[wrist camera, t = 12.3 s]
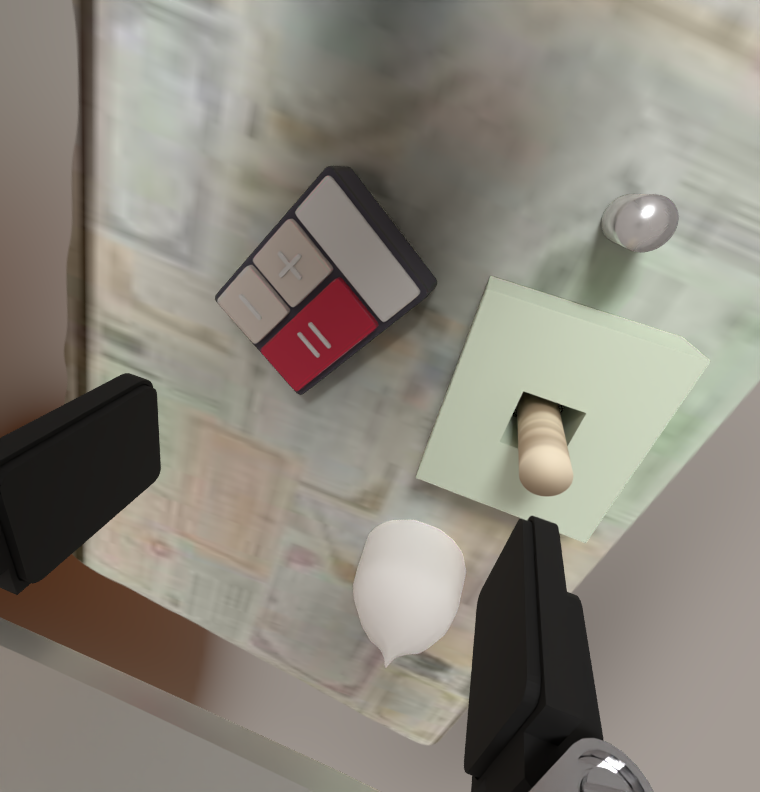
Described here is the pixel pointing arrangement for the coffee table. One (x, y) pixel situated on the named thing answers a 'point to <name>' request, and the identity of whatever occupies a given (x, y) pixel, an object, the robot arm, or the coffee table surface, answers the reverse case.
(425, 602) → the teardrop
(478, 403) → the peg block
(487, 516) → the coffee table surface
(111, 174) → the coffee table surface
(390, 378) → the coffee table surface
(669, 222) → the short pin
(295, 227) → the calculator
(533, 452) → the long pin
